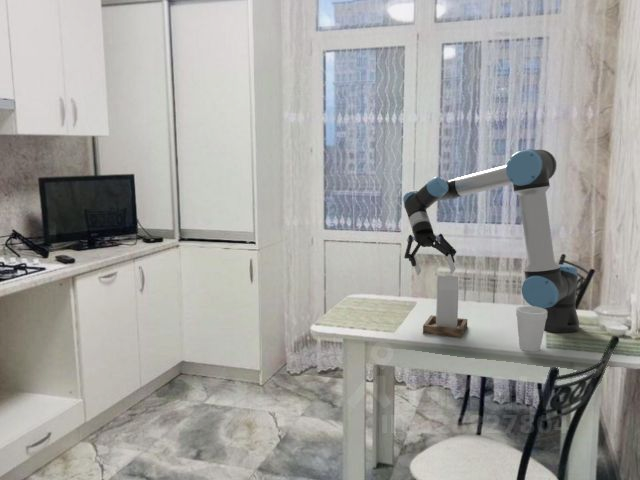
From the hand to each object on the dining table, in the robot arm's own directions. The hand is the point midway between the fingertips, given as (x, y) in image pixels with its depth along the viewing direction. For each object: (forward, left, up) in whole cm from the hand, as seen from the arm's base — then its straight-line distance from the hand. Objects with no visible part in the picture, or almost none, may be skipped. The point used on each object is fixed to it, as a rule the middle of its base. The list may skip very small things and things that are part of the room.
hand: (436, 272), depth 215 cm
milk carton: (-5, +6, -19) cm, 21 cm away
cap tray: (-5, +7, -20) cm, 21 cm away
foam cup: (-34, +16, -20) cm, 42 cm away
